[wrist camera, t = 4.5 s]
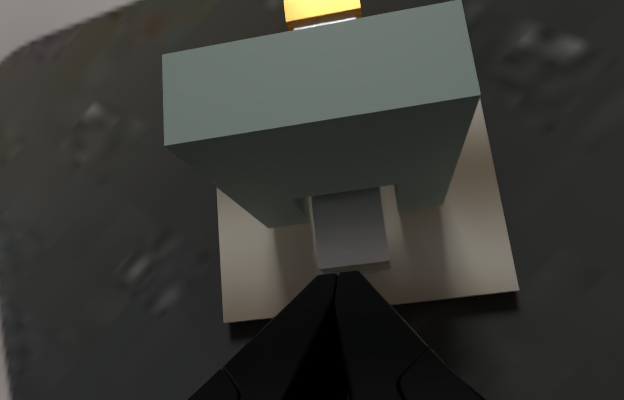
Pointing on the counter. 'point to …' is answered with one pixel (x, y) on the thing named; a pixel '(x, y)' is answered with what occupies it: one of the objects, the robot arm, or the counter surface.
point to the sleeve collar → (327, 111)
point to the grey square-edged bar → (350, 204)
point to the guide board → (400, 239)
